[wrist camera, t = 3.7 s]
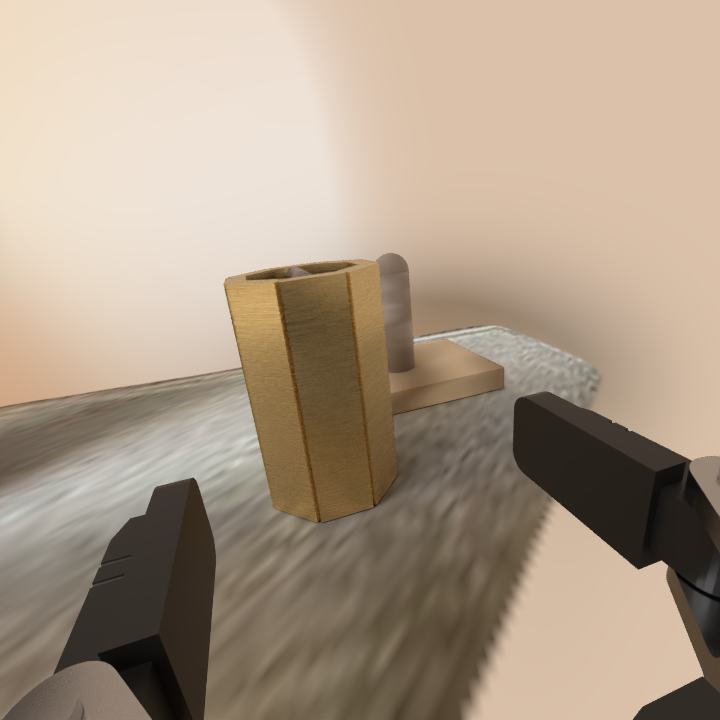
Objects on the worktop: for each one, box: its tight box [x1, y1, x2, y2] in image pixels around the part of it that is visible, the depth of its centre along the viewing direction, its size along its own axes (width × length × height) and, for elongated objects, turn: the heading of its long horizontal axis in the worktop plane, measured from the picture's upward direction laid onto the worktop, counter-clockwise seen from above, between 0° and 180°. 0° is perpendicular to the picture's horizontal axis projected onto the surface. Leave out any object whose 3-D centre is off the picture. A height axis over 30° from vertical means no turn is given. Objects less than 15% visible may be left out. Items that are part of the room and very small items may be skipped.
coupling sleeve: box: [224, 259, 398, 523], centre depth 17 cm, size 6×6×10 cm
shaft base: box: [376, 253, 504, 415], centre depth 27 cm, size 12×8×10 cm, turn 106°
